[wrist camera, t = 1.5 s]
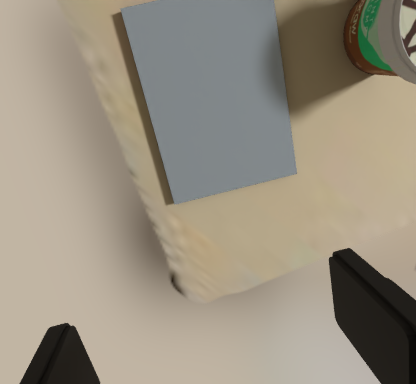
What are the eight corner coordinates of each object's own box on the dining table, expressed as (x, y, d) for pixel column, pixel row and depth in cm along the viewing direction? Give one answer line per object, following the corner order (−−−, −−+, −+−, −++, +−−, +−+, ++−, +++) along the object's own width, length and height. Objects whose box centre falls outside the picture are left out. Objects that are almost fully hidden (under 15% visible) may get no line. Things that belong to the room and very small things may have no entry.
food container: (345, -36, 34) (414, -88, 24) (396, -29, 34) (482, -77, 25) (325, 83, 37) (378, 79, 28) (371, 87, 38) (439, 84, 28)
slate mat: (121, 11, 32) (120, 8, 31) (267, -22, 33) (270, -25, 32) (174, 201, 39) (174, 204, 38) (293, 171, 40) (296, 173, 39)
